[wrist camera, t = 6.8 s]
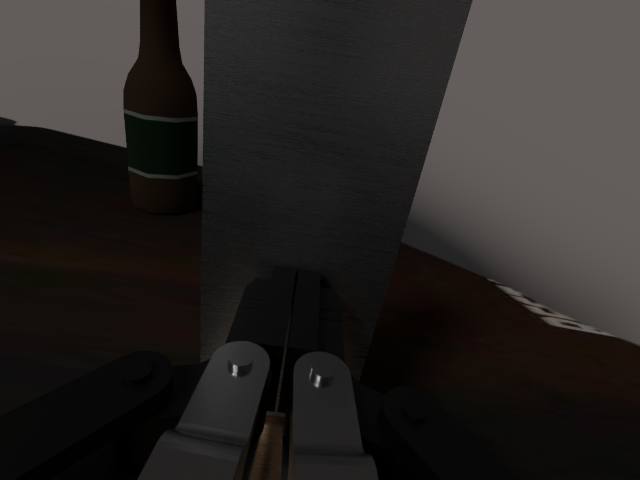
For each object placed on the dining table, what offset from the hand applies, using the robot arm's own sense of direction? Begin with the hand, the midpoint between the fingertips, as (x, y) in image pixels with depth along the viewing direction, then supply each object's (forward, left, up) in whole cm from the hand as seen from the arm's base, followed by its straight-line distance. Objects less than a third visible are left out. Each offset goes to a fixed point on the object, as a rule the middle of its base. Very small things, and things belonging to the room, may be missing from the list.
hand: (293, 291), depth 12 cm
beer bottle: (+5, -35, -12) cm, 38 cm away
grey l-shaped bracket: (-1, -3, -10) cm, 11 cm away
